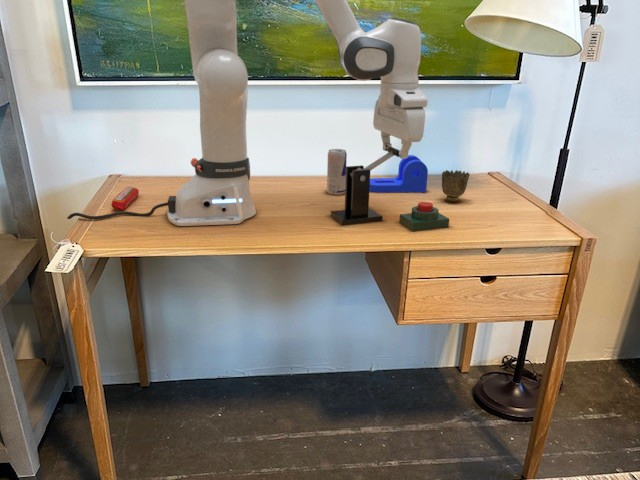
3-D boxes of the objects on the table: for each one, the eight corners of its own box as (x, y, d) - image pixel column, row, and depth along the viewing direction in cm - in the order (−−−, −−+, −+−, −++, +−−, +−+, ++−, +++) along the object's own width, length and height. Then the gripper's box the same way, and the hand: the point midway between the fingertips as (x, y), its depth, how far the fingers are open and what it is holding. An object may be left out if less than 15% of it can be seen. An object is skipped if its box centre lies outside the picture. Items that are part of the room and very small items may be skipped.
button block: (412, 231, 141) (413, 215, 139) (399, 222, 147) (400, 207, 145) (448, 227, 144) (450, 211, 142) (434, 218, 150) (435, 203, 148)
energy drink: (348, 191, 172) (349, 150, 166) (341, 196, 167) (342, 153, 162) (331, 189, 174) (332, 148, 168) (324, 193, 169) (324, 151, 164)
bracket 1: (369, 212, 154) (371, 163, 148) (382, 221, 148) (385, 170, 142) (330, 215, 151) (331, 166, 145) (341, 225, 144) (343, 173, 138)
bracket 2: (419, 184, 179) (422, 155, 175) (425, 192, 172) (429, 161, 168) (361, 185, 178) (362, 155, 174) (365, 192, 171) (366, 161, 167)
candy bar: (124, 212, 151) (122, 200, 150) (110, 212, 151) (108, 200, 150) (141, 195, 166) (139, 184, 164) (128, 195, 166) (126, 184, 164)
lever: (394, 152, 148) (391, 143, 146) (403, 156, 143) (400, 147, 142) (351, 180, 147) (347, 172, 145) (359, 185, 143) (355, 176, 141)
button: (422, 213, 142) (422, 206, 141) (415, 209, 145) (415, 202, 144) (435, 212, 143) (435, 205, 142) (427, 208, 146) (428, 201, 145)
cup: (443, 196, 169) (446, 168, 165) (468, 199, 166) (472, 171, 162) (435, 202, 163) (438, 173, 159) (461, 206, 160) (465, 177, 156)
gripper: (368, 90, 146) (366, 146, 153) (406, 101, 129) (402, 164, 136) (391, 89, 148) (387, 145, 155) (431, 99, 131) (426, 162, 138)
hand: (394, 154), depth 145 cm, fingers open, 8 cm apart
